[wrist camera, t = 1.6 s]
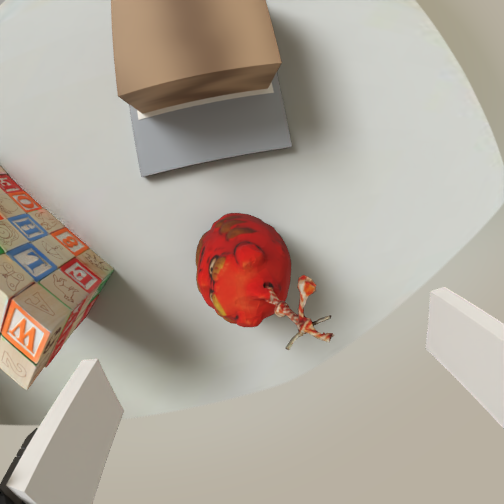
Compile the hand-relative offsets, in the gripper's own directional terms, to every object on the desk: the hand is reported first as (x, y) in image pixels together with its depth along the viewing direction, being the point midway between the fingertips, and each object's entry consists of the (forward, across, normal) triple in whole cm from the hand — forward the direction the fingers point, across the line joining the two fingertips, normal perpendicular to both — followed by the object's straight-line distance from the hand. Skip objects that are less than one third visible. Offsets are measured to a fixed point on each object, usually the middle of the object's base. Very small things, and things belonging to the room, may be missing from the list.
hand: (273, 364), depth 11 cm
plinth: (+15, -1, +18) cm, 23 cm away
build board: (+16, -1, +17) cm, 23 cm away
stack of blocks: (+16, -21, +7) cm, 27 cm away
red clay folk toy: (+16, 0, 0) cm, 16 cm away
